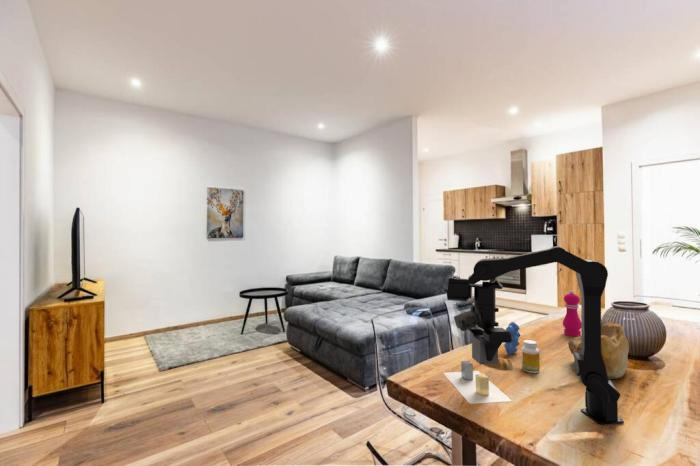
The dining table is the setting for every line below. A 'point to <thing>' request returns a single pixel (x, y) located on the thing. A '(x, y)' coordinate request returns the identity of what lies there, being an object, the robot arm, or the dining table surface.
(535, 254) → the robot arm
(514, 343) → the grapes
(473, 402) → the board
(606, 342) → the rough brown rock
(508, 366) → the pastry
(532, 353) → the supplement bottle
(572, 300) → the pepper mill
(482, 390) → the pale wooden block
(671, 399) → the dining table surface
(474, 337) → the dark gray block
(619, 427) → the dining table surface
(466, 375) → the steel post
